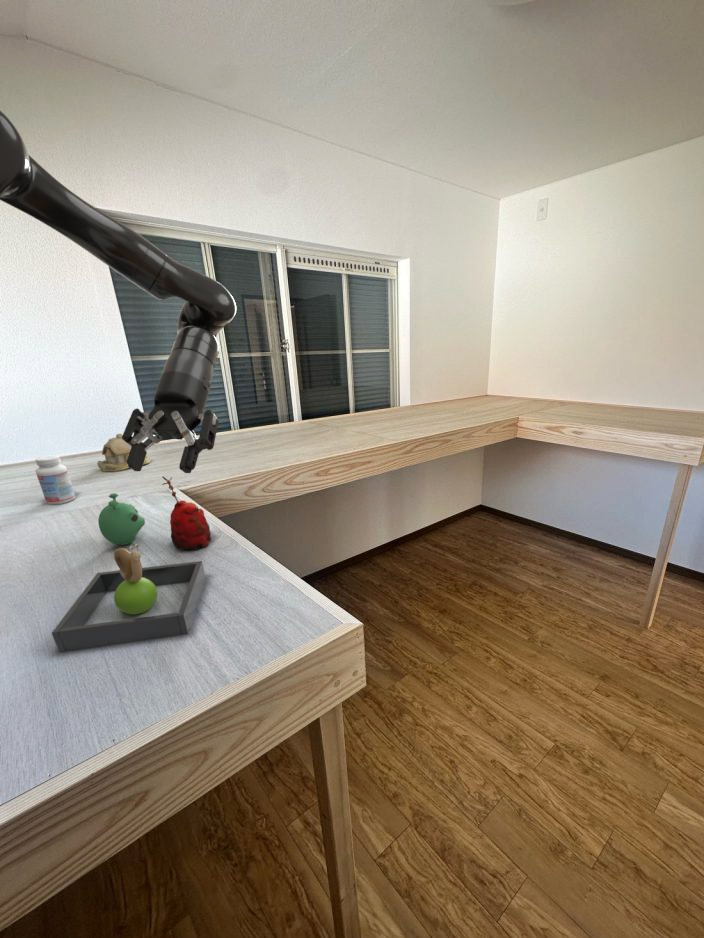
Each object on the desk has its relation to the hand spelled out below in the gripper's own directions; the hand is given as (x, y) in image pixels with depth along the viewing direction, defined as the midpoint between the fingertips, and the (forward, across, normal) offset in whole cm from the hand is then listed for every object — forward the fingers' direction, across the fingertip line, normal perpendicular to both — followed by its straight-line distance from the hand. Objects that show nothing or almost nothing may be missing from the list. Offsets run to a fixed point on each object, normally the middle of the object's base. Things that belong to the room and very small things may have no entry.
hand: (159, 470), depth 64 cm
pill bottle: (-7, -51, +34) cm, 62 cm away
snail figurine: (+21, 0, +6) cm, 22 cm away
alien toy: (+6, -18, +21) cm, 28 cm away
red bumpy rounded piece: (+6, -5, +21) cm, 23 cm away
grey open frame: (+21, 0, +6) cm, 22 cm away
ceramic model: (-28, -55, +55) cm, 83 cm away
